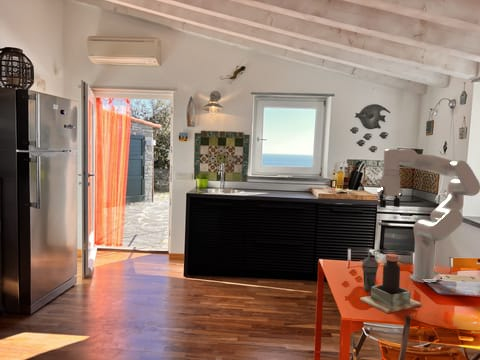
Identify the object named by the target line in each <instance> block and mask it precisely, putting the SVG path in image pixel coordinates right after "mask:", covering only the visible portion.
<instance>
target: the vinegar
mask: <svg viewBox="0 0 480 360" xmlns="http://www.w3.org/2000/svg"><path fill="white" fill-rule="evenodd" d="M385 261H386V263H384V264H383V266H382V284H381V285H382V291H384V292H387V293H389V294H391V295H392V294H398V293H399V287H400V286H401V285H400V282H401V277H400V276H401V267H400V265H399V264H398V262H399V255H398V254H395V253H386V254H385Z"/></svg>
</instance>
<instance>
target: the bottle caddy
mask: <svg viewBox="0 0 480 360" xmlns="http://www.w3.org/2000/svg"><path fill="white" fill-rule="evenodd" d="M359 301H361V302H363V303H366V304H368V305H370V306H371V307H374V308H376V309H378V310H380V311H382V312H384V313H386V314H390V313H393V312H398V311H401V310H402V311H404V310H406V309H411V308H415V307H420V306H422V303H421V302H419V301H417V300H415V299H412V298H411V291H410V290H409V289H406V288H403V287H401V286H399V293H398V294H392V295H391V294H389V293H387V292H384V291H382V284H378V285H375V286H372V287H371V291H370V295H368V296H363V297H359Z"/></svg>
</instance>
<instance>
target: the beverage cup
mask: <svg viewBox="0 0 480 360" xmlns="http://www.w3.org/2000/svg"><path fill="white" fill-rule="evenodd" d="M367 254H368V256H367V257H366V258H364V259H363V261H362V264H361V265H362V273H363V289H364V290H365V291H368V292H371V287H372V286H376V280H377V272H378V269H379V264H378V260H376V259H375V258H374V257H371V256H370V247H368V248H367Z"/></svg>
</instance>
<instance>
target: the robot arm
mask: <svg viewBox="0 0 480 360" xmlns="http://www.w3.org/2000/svg"><path fill="white" fill-rule="evenodd" d="M400 166H404V167H407V168H408V167H409V168H412V169H417V170H421V171H426V172H429V173H434V174H438V175H442V176H445V177H452V178H453V179H451V180H450V181H448V184H447V197H446V199H444V200H443V202H441V203H440V204H439V205H438V206H437V207H436V208H435V209H433V210H432V211H431V212H430V219H419V220H417V221H415V223H414V225H413V236H414V254H413V257H414V258H413V273H412V274H410V275H409V278H410V279H411V280H412V281H415V282H418V283H421V284H422V283H423V284H425V283H424V282H423V281H422V280H421V279H433V278H434V277H435V276H438V275H440V272H439V271H438V270H436V271H435V256H436V245H435V242H436V243H437V242H442V241H444V240H446V239H447V238H448V237H450V236H451V235H452V234H453V233H454V232H455V231H456V230H457V229H458V228H460V227H461V225H462V222H463V219H464V216H463V213H462V212H461V210H462V208H463V207H464V196H469V197H474V196H476V195H478V194H479V193H480V181H479V180H478V178H477V175H475V173H474V171H473V169H472V168H471V166H470V165H469V163H467V162H466V161H464V160H455V159H454V160H453V159H448V158H444V157H440V156H437V155H433V154H425V153H424V154H423V153H420V154H419V153H417V152H416V151H415V150H414V149H412V148H402V149H401V148H400V149H398V148H396V149H395V148H387V149H384V152H383V171H382V173H383V175H382V176H381V179H380V183H379V184H380V185H379V189H377V191H376V193H377V196H378V200H379V207H380V208H384V209H385V208H386V207H387V205H386V204H387V199H386V198H387V197H394V198H393V207H395V208H400V202H401V198H402V196H403V194H404V190H403V189H402V188H401V178H400V168H401V167H400Z"/></svg>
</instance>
